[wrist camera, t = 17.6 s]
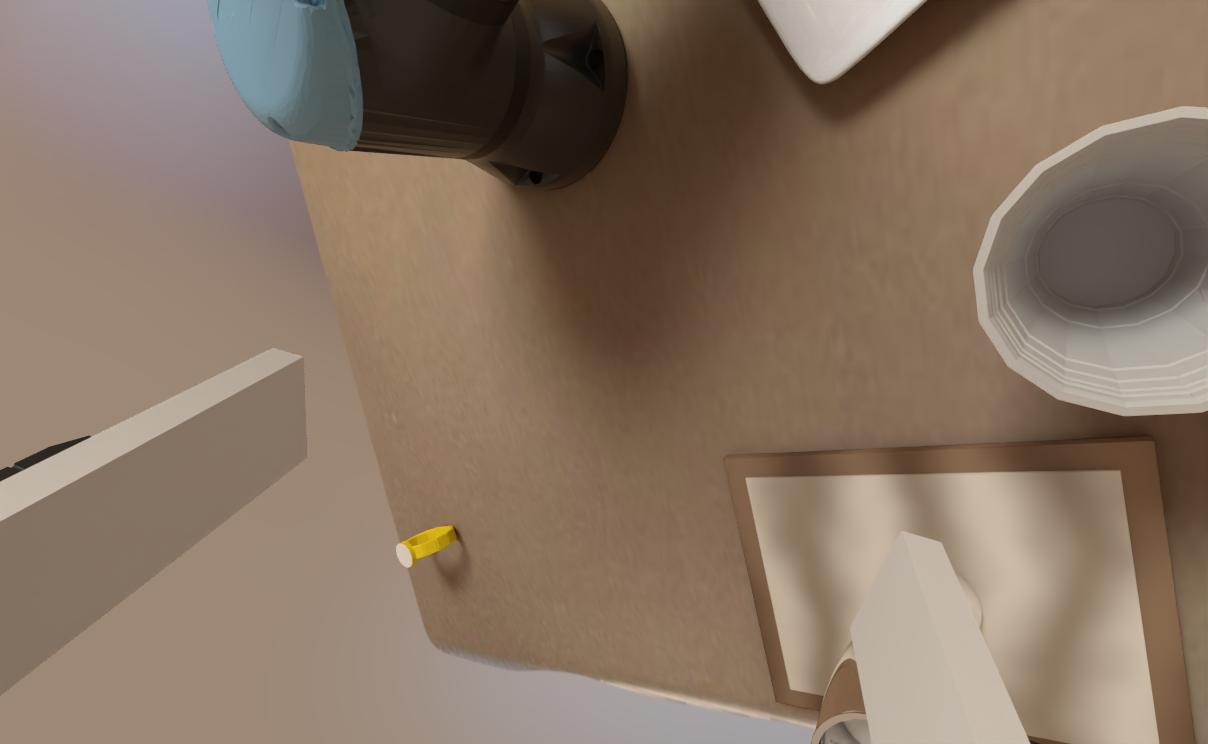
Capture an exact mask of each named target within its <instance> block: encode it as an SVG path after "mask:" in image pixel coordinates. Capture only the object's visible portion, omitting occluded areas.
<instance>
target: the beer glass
mask: <svg viewBox="0 0 1208 744" xmlns="http://www.w3.org/2000/svg"><path fill="white" fill-rule="evenodd" d="M955 574H956V576H957V579H958V581H959V583H960V586H961V588H962V590H963V592H964V595H965V597H966V599H967V601H968V604H969V606H970V608H971V610H972V613H973V615H974V617H975V619H976V622H977V624H978V626H979V628H980V626H981V622H982V609H981V605H980V602H979V599H978V597H977V595H976V593H975V592H974V590H973V589H972V587H971V586H970V585H969V584H968V583H967V582H966V581H965V580H964V579H963V578H962V577H961V576H960V575H958V574H957V573H956V572H955ZM811 744H872V742H871V737H870V732H869V726H868V721H867V716H866V711H865V705H864V700H863V695H862V690H861V684H860V679H859V674H858V669H857V664H856V658H855V653H854V648H853V643H852V641H851V642H850V643H849V645H848V646H847V648H846V649H845V651H844V652H843V654H842V655H841V657H840V658H839V660H838V662H837V664H836V667H835V669H834V671H833V673H832V675H831V678H830V680H829V683H828V686H827V689H826V692H825V695H824V698H823V702H822V706H821V709H820V713H819V717H818V722H817V726H816V730H815V733H814V735H813V737H812V741H811Z"/></svg>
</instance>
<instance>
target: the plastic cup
mask: <svg viewBox="0 0 1208 744" xmlns="http://www.w3.org/2000/svg"><path fill="white" fill-rule="evenodd" d="M973 276H974V284H975V293H976V302H977V311H978V320H979V323H980V324H981V326H982V328H983V329H984V331H985V332H986V334H987V335H988V337H989V338H990V340H991V341H992V343H993V344H994V346H995V348H996V349H997V351H998V352H999V354H1000V355H1001V357H1002V358H1003V360H1004V361H1005V363H1006V364H1007V366H1008V367H1009V368H1011V369H1012V370H1014V371H1015V372H1017V373H1018V374H1020V375H1021V376H1023V377H1024V378H1026V379H1027V380H1029V381H1030V382H1032V383H1033V384H1035V385H1036V386H1038V387H1039V388H1041V389H1043V390H1044V391H1046V392H1047V393H1049V394H1050V395H1052V396H1053V397H1055V398H1056V399H1058V400H1061V401H1065V402H1069V403H1073V404H1077V405H1081V406H1085V407H1089V408H1093V409H1097V410H1101V411H1105V412H1109V413H1113V414H1117V415H1121V416H1142V415H1163V414H1184V413H1202V412H1205V411H1208V108H1205V107H1190V106H1181V107H1177V108H1173V109H1169V110H1165V111H1161V112H1157V113H1153V114H1149V115H1144V116H1140V117H1136V118H1132V119H1128V120H1124V121H1120V122H1116V123H1112V124H1108V125H1104V126H1101V127H1099V128H1097V129H1096V130H1094V131H1092V132H1091V133H1089V134H1087V135H1085V136H1084V137H1082V138H1080V139H1079V140H1077V141H1075V142H1074V143H1072V144H1070V145H1069V146H1067V147H1065V148H1064V149H1062V150H1060V151H1058V152H1057V153H1055V154H1053V155H1052V156H1050V157H1048V158H1047V159H1045V160H1043V161H1042V162H1040V163H1038V164H1037V165H1035V166H1034V167H1033V168H1032V170H1031V171H1030V172H1029V173H1028V174H1027V175H1026V177H1025V178H1024V179H1023V180H1022V181H1021V182H1020V183H1019V185H1018V186H1017V187H1016V188H1015V189H1014V190H1013V191H1012V193H1011V194H1010V195H1009V196H1008V197H1007V198H1006V200H1005V201H1004V202H1003V203H1002V204H1001V205H1000V206H999V208H998V209H997V210H996V211H995V212H994V213H993V214H992V216H991V219H990V222H989V225H988V227H987V230H986V233H985V236H984V239H983V242H982V245H981V248H980V250H979V253H978V256H977V259H976V262H975V265H974V268H973Z"/></svg>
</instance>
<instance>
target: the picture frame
mask: <svg viewBox="0 0 1208 744" xmlns="http://www.w3.org/2000/svg"><path fill="white" fill-rule="evenodd" d="M724 463H725V468H726V473H727V477H728V482H729V487H730V491H731V496H732V501H733V505H734V510H735V514H736V519H737V524H738V528H739V533H740V538H741V542H742V547H743V551H744V556H745V561H746V565H747V570H748V575H749V579H750V584H751V588H752V593H753V598H754V602H755V607H756V612H757V616H758V621H759V626H760V630H761V635H762V639H763V644H764V649H765V653H766V658H767V663H768V667H769V672H770V676H771V681H772V686H773V690H774V695H775V700H776V702H780V703H785V704H789V705H794V706H799V707H804V708H809V709H813V710H818V711H820V709H821V706H822V702H823V698H824V695H825V692H826V689H827V686H828V683H829V680H830V678H831V675H832V673H833V671H834V669H835V667H836V664H837V662H838V660H839V658H840V657H841V655H842V654H843V652H844V651H845V649H846V648H847V646H848V645H849V643H850V642H851V641H852V637H851V632H850V627H851V625H852V623H853V621H854V619H855V617H856V615H857V613H858V612H859V610H860V608H861V606H862V604H863V602H864V600H865V598H866V596H867V594H868V593H869V591H870V589H871V587H872V585H873V583H874V581H875V579H876V577H877V576H878V574H879V572H880V570H881V568H882V566H883V564H884V562H885V560H886V559H887V557H888V555H889V553H890V551H891V549H892V547H893V545H894V543H895V541H896V540H897V538H898V536H899V534H900V532H901V531H905V532H908V533H911V534H915V535H918V536H922V537H925V538H929V539H932V540H935V541H939V542H941V543H942V545H943V547H944V549H945V552H946V554H947V556H948V558H949V561H950V563H951V565H952V567H953V570H954V572H956V573H957V574H958V575H960V576H961V577H962V578H963V579H964V580H965V581H966V582H967V583H968V584H969V585H970V586H971V587H972V589H973V590H974V592H975V593H976V595H977V597H978V599H979V602H980V605H981V609H982V622H981V626H980V631H981V633H982V635H983V638H984V640H985V642H986V644H987V647H988V649H989V651H990V653H991V656H992V658H993V660H994V662H995V665H996V667H997V669H998V671H999V674H1000V676H1001V678H1002V681H1003V683H1004V685H1005V687H1006V690H1007V692H1008V694H1009V696H1010V699H1011V701H1012V703H1013V705H1014V708H1015V710H1016V712H1017V714H1018V717H1019V719H1020V721H1021V723H1022V726H1023V728H1024V730H1025V733H1026V735H1027V737H1028V739H1029V740H1031V741H1034V742H1037V743H1041V744H1196V743H1195V736H1194V729H1193V721H1192V714H1191V707H1190V699H1189V692H1188V685H1187V677H1186V670H1185V663H1184V655H1183V648H1182V641H1181V633H1180V626H1179V619H1178V611H1177V604H1176V597H1175V589H1174V582H1173V575H1172V567H1171V560H1170V553H1169V545H1168V538H1167V531H1166V523H1165V516H1164V509H1163V502H1162V494H1161V487H1160V480H1159V472H1158V465H1157V458H1156V450H1155V443H1154V440H1153V438H1152V436H1143V437H1121V438H1099V439H1077V440H1055V441H1033V442H1011V443H989V444H967V445H945V446H923V447H901V448H879V449H857V450H835V451H813V452H791V453H769V454H747V455H727V456H726V457H725V458H724Z"/></svg>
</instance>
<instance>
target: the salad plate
mask: <svg viewBox="0 0 1208 744" xmlns="http://www.w3.org/2000/svg"><path fill="white" fill-rule="evenodd" d="M757 1H758V2H759V4H760V6H761V7H762V9H763V11H764V12H765V14H766V16H767V17H768V19H769V21H770V22H771V24H772V25H773V27H774V29H775V30H776V32H777V34H778V35H779V37H780V39H781V40H782V42H783V44H784V46H785V47H786V49H787V51H788V52H789V54H790V55H791V56H792V58H793V59H794V61H795V62H796V64H797V65H798V66H799V68H800V69H801V70H802V71H803V73H804V74H805V75H806V76H807V77H808V78H809V79H810V80H812V81H814V82H815V83H817V84H826V83H830V82H832V81H834V80H836V79H838V78H839V77H841V76H842V75H843V74H845V73H846V72H847V71H848V70H850V69H851V68H852V67H853V66H854V65H856V64H857V63H858V62H859V61H860V60H862V59H863V58H864V57H865V56H866V55H867V54H869V53H870V52H871V51H872V50H873V49H874V48H875V47H877V46H878V45H879V44H880V43H881V42H882V41H883V40H884V39H885V38H886V37H888V36H889V35H890V34H891V33H892V32H893V31H894V30H895V29H896V28H898V27H899V26H900V25H901V24H902V23H903V22H904V21H905V20H906V19H907V18H909V17H910V16H911V15H912V14H913V13H914V12H915V11H916V10H917V9H918V8H919V7H921V6H922V5H923V4H924V3H925V2H926V1H927V0H757Z"/></svg>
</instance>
